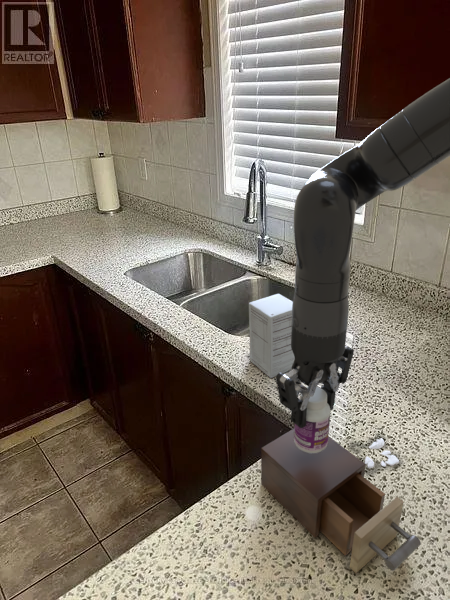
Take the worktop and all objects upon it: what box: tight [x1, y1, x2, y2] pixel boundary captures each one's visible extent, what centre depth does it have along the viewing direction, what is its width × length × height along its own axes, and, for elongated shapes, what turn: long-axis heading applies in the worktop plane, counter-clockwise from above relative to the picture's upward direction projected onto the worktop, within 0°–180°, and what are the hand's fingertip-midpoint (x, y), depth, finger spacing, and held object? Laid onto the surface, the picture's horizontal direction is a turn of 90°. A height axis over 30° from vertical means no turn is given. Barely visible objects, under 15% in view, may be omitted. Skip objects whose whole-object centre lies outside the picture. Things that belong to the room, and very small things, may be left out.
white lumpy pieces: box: [364, 437, 400, 469], centre depth 83 cm, size 8×7×2 cm
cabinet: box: [260, 428, 367, 538], centre depth 74 cm, size 13×11×10 cm
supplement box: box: [248, 293, 295, 379], centre depth 109 cm, size 10×9×17 cm
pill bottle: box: [293, 386, 332, 453], centre depth 69 cm, size 5×5×10 cm
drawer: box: [319, 473, 422, 574], centre depth 67 cm, size 16×10×8 cm, turn 36°
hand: (313, 415), depth 69 cm, fingers closed on pill bottle, 5 cm apart
